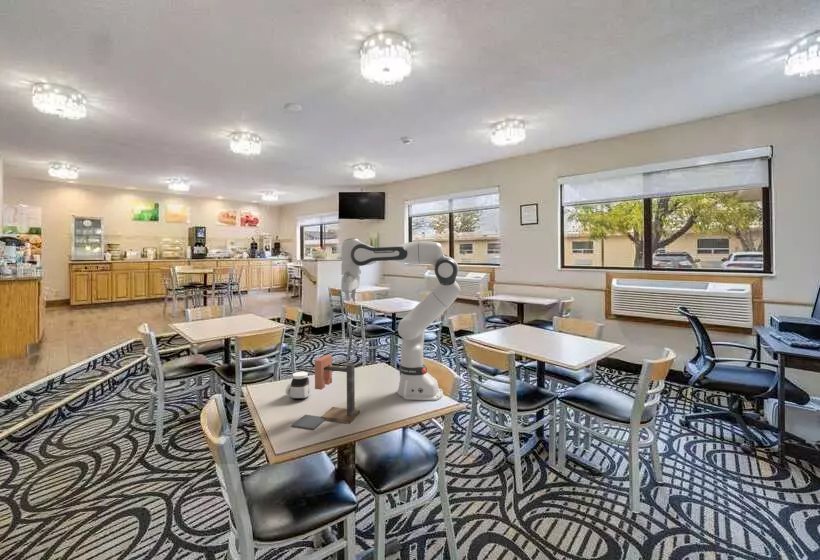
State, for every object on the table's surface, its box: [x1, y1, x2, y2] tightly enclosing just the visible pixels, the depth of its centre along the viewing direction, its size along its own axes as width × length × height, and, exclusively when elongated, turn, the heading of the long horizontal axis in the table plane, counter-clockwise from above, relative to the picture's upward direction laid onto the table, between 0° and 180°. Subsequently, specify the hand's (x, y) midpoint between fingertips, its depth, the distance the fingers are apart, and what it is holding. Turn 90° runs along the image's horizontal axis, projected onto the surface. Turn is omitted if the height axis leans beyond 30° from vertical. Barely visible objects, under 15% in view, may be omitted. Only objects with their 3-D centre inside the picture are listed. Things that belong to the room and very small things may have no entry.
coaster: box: [291, 414, 326, 431], centre depth 145 cm, size 10×10×1 cm
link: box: [314, 354, 333, 391], centre depth 152 cm, size 3×9×12 cm, turn 164°
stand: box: [320, 363, 361, 424], centre depth 151 cm, size 17×10×22 cm, turn 74°
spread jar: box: [285, 371, 310, 402], centre depth 171 cm, size 12×11×12 cm
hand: (350, 299), depth 179 cm, fingers open, 8 cm apart
